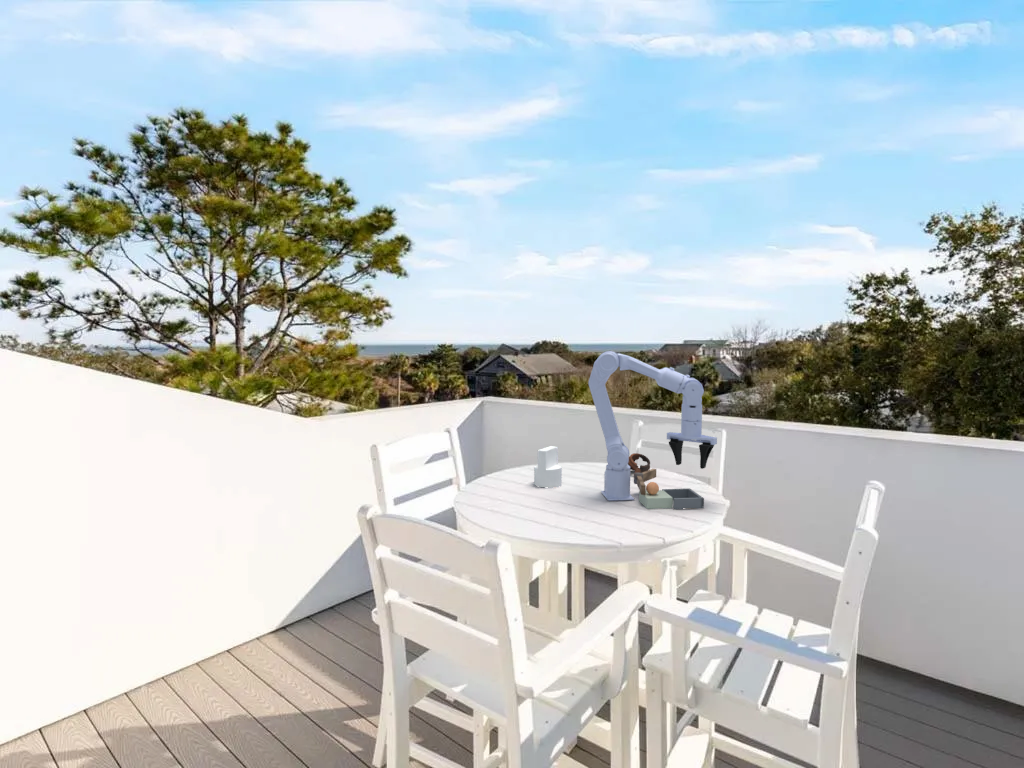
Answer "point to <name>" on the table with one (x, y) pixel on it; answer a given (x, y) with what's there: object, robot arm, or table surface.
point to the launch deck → (656, 500)
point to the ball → (652, 488)
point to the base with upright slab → (548, 468)
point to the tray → (685, 498)
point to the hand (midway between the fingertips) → (690, 466)
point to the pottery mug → (634, 465)
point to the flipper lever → (643, 479)
